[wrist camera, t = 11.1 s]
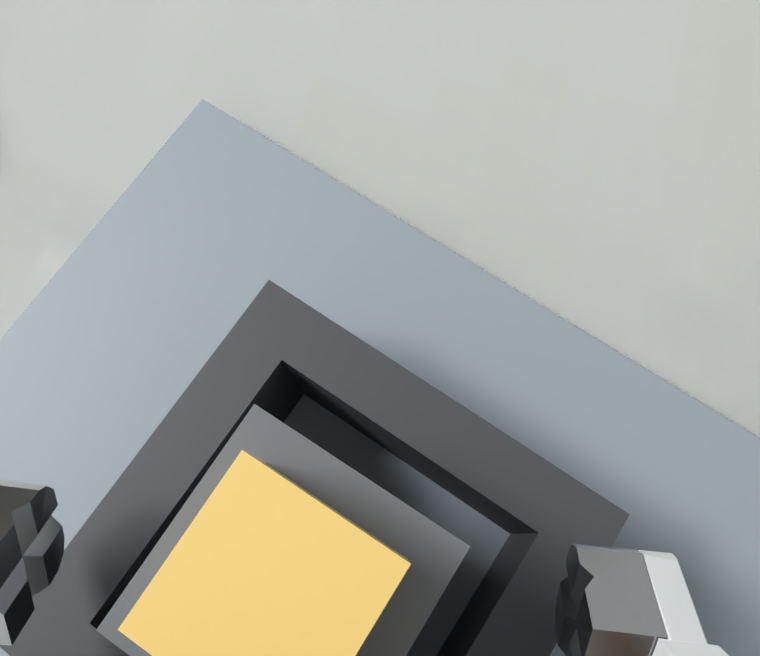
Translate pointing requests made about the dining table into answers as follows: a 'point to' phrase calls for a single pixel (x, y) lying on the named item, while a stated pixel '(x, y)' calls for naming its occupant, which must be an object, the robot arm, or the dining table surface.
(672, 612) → the robot arm
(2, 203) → the dining table surface
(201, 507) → the plug
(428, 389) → the port
